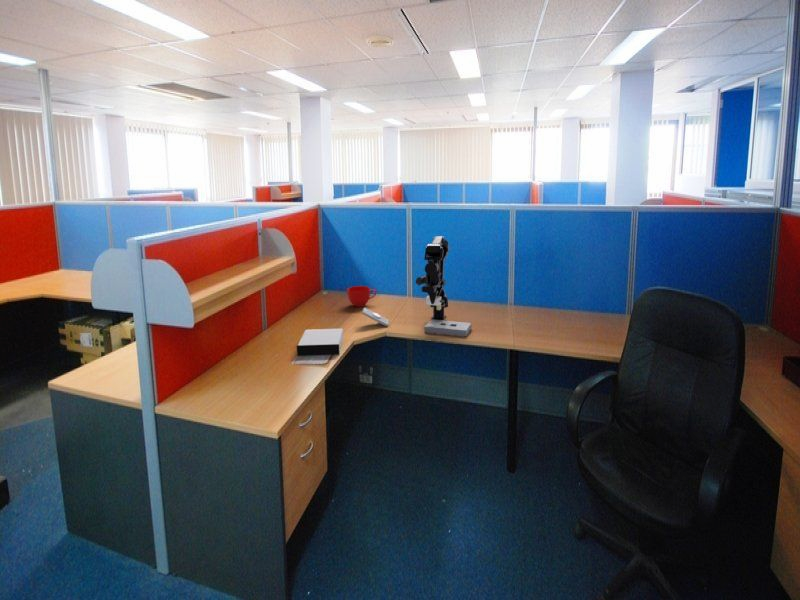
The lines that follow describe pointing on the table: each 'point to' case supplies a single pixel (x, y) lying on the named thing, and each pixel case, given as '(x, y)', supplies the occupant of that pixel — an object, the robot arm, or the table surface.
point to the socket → (448, 327)
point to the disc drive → (320, 342)
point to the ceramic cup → (359, 295)
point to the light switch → (375, 316)
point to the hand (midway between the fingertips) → (433, 302)
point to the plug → (437, 302)
